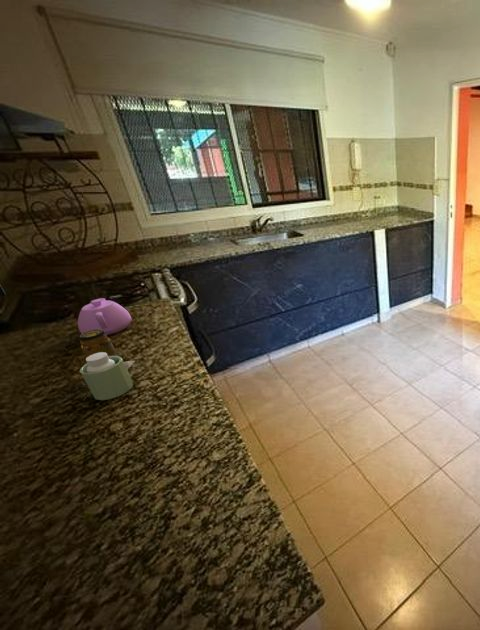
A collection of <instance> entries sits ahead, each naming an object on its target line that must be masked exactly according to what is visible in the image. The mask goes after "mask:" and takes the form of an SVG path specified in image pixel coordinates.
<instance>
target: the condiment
mask: <svg viewBox="0 0 480 630" xmlns="http://www.w3.org/2000/svg"><path fill="white" fill-rule="evenodd" d="M78 340H79V342H80V344H81V345H80V348H81V350H82V352H83V355H84V356H85V359H86V358H87V357H88V356H90V355H93V354H96V353H101V352H104V353H107V355H108V356H119V355H118V353H117V351H116V349H115V347H114V344H113V342H112V340H111V339H110V338H109V337H108V335H106V334H105V332H104V330H101V329H96V330H90V331H87V332H84V333H81V334H79V335H78ZM123 362H124V364H125V366H126V368H127V370H129V369H130V368H131V367H132V365H134V363H135V362H136V360H127V361H123Z"/></svg>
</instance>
